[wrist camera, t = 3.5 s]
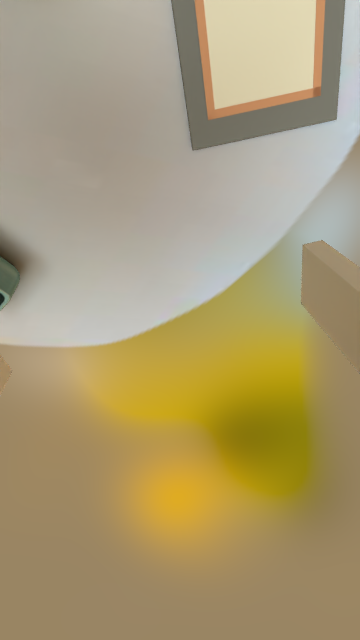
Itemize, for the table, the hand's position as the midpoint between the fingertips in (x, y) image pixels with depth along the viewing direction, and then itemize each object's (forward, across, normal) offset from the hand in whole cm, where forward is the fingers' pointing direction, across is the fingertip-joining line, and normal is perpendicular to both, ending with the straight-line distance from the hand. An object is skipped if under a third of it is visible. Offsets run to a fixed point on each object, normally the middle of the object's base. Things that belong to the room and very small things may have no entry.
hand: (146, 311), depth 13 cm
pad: (+29, +15, +12) cm, 35 cm away
